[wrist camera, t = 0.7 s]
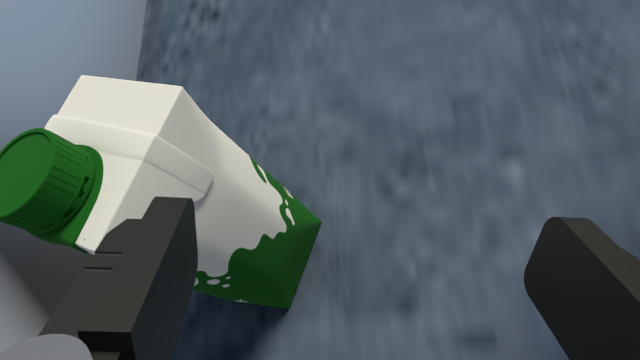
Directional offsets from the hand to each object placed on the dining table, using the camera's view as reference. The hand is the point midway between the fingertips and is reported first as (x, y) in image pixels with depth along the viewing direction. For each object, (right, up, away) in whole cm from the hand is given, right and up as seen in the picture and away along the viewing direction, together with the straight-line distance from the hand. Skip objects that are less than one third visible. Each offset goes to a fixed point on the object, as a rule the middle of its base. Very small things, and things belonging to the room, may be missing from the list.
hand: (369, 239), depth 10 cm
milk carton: (-5, -5, +25) cm, 25 cm away
